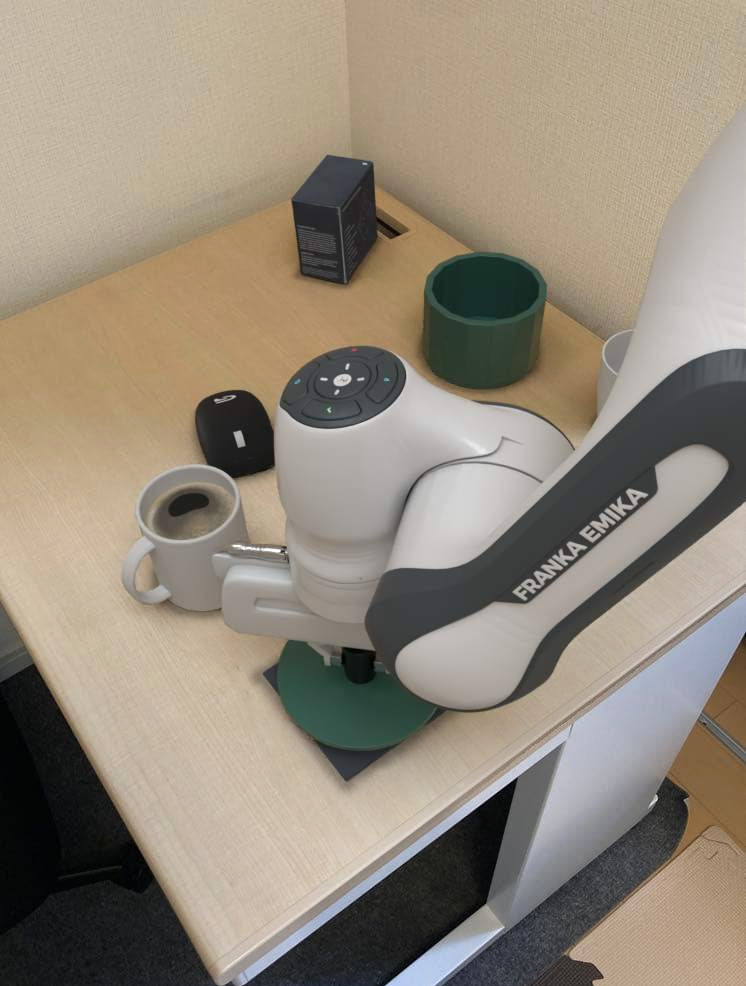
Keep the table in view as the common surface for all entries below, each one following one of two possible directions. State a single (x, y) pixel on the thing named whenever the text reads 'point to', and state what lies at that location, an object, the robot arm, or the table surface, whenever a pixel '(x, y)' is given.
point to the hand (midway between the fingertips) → (360, 662)
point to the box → (335, 218)
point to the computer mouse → (235, 433)
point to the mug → (185, 535)
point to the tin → (483, 319)
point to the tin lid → (346, 699)
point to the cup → (611, 365)
